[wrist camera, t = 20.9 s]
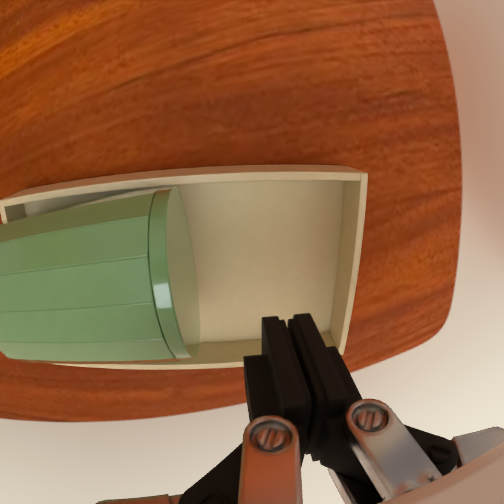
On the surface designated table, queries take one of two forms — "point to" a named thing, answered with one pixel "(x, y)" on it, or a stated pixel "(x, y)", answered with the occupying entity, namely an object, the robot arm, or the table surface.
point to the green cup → (100, 282)
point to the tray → (248, 247)
